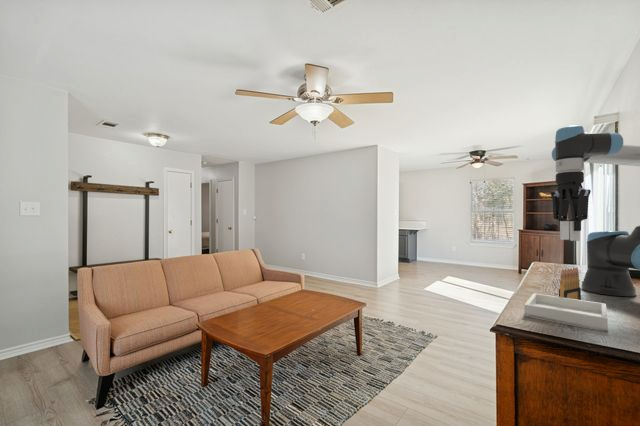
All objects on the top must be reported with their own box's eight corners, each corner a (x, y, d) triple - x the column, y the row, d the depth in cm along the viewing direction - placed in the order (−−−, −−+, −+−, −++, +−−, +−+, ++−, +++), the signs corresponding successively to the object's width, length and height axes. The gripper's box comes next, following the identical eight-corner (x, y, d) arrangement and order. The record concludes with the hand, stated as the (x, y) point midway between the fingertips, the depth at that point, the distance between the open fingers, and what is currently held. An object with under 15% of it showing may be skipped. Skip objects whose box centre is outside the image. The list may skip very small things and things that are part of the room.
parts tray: (533, 303, 104) (533, 293, 104) (605, 315, 91) (605, 303, 91) (524, 316, 90) (524, 304, 90) (607, 332, 78) (607, 318, 78)
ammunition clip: (564, 306, 101) (564, 270, 101) (558, 304, 103) (558, 269, 103) (581, 302, 106) (581, 267, 106) (574, 300, 107) (574, 266, 107)
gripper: (540, 175, 112) (540, 238, 112) (580, 168, 96) (580, 242, 96) (559, 175, 113) (560, 238, 113) (603, 168, 96) (603, 242, 96)
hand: (569, 240), depth 104 cm, fingers open, 3 cm apart
